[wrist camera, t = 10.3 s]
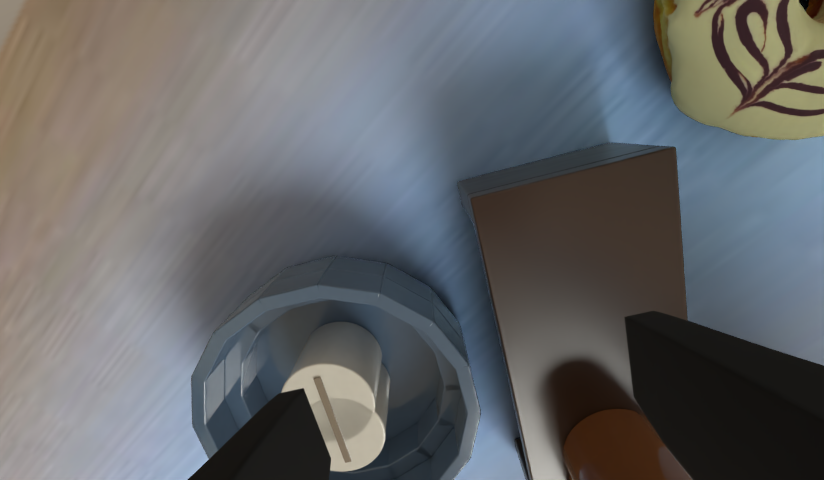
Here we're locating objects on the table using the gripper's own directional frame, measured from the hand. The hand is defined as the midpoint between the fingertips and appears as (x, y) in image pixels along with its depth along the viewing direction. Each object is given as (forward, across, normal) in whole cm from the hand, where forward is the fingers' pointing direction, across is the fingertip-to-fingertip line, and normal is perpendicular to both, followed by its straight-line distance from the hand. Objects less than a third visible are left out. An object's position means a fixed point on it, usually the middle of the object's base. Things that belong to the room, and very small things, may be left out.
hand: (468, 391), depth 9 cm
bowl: (+10, +6, +5) cm, 13 cm away
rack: (+10, -5, +5) cm, 13 cm away
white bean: (+10, +6, +5) cm, 13 cm away
